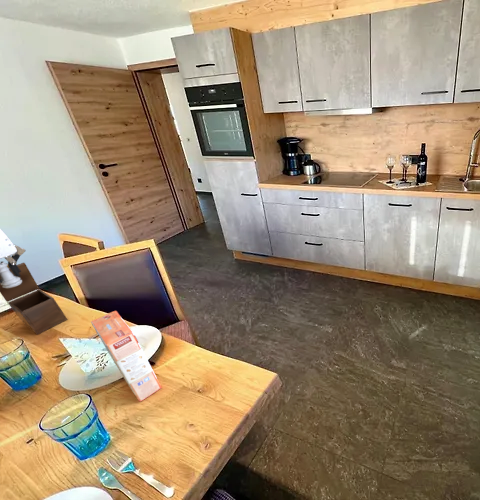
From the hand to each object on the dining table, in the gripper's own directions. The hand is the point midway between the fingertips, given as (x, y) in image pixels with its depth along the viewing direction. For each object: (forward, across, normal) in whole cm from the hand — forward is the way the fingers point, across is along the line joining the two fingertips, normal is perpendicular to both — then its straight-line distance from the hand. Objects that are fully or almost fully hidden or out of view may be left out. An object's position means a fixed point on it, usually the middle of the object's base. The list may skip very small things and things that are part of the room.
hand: (8, 278), depth 91 cm
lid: (+6, -2, -11) cm, 13 cm away
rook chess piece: (+3, 0, 0) cm, 3 cm away
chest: (+23, -2, -8) cm, 24 cm away
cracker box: (+23, -5, +52) cm, 57 cm away
